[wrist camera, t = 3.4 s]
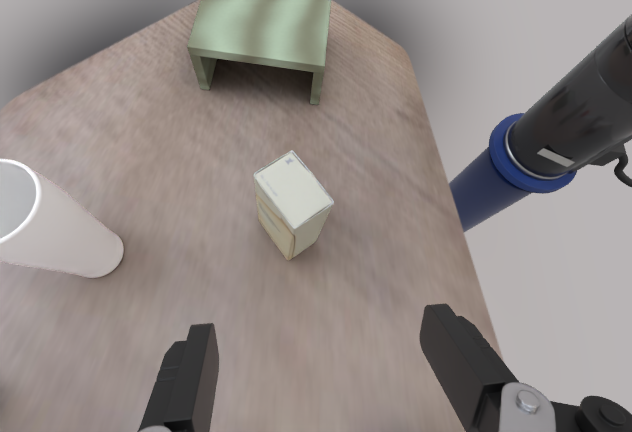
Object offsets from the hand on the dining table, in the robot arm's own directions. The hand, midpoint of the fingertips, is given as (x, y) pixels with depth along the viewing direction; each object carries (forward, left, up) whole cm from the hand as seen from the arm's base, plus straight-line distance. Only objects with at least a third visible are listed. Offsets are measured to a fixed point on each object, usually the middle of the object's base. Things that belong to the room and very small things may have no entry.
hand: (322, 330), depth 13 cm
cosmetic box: (+2, -11, -25) cm, 27 cm away
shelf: (+8, -36, -24) cm, 45 cm away
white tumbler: (+22, -6, -24) cm, 34 cm away
